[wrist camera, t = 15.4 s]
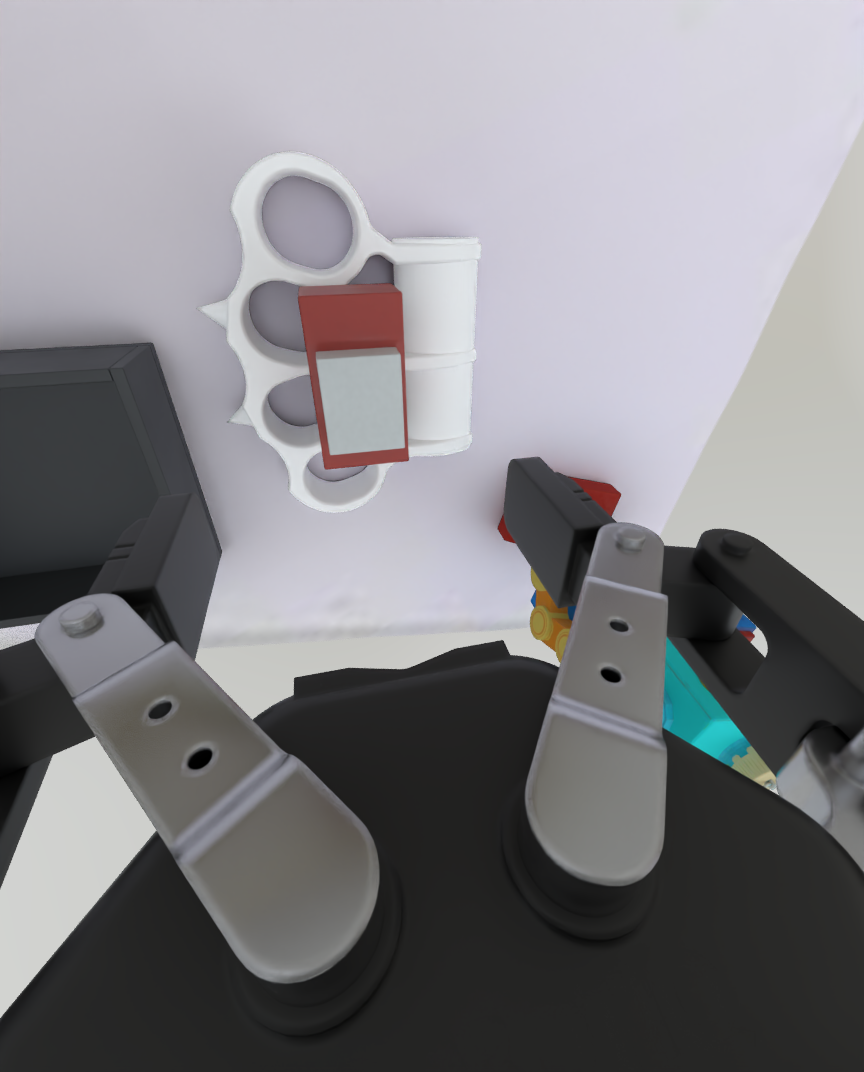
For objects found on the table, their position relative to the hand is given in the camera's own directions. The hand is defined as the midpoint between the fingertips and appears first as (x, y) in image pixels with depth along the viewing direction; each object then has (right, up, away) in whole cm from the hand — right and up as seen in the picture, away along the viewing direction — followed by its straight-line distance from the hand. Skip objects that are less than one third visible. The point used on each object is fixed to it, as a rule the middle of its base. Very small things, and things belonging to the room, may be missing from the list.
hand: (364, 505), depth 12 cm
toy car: (-2, +8, +13) cm, 15 cm away
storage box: (-21, +3, +16) cm, 26 cm away
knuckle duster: (-3, +10, +15) cm, 19 cm away
